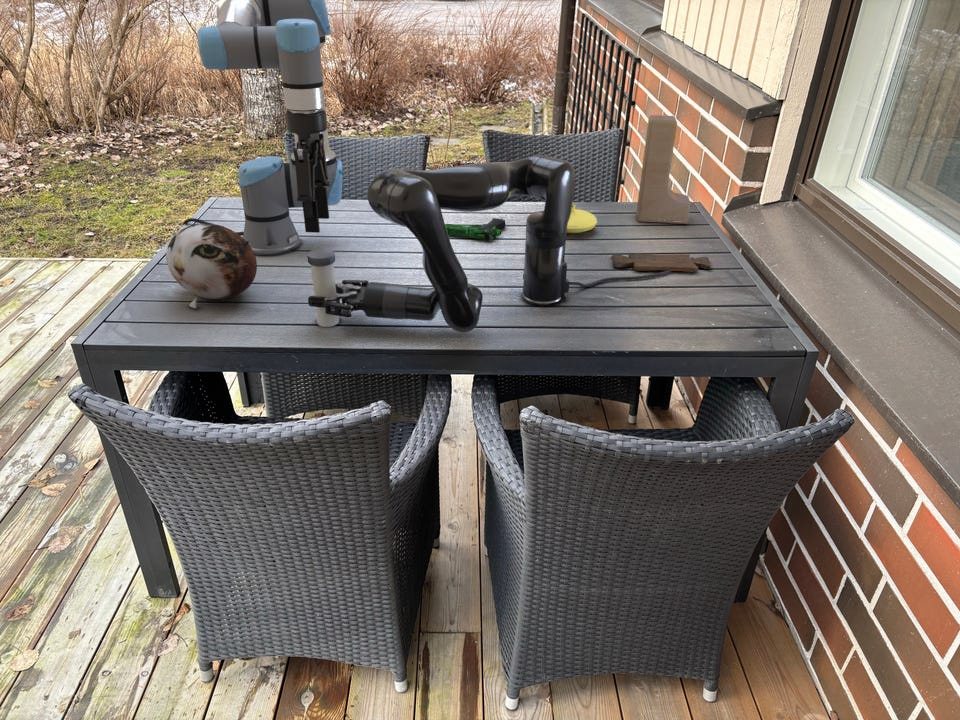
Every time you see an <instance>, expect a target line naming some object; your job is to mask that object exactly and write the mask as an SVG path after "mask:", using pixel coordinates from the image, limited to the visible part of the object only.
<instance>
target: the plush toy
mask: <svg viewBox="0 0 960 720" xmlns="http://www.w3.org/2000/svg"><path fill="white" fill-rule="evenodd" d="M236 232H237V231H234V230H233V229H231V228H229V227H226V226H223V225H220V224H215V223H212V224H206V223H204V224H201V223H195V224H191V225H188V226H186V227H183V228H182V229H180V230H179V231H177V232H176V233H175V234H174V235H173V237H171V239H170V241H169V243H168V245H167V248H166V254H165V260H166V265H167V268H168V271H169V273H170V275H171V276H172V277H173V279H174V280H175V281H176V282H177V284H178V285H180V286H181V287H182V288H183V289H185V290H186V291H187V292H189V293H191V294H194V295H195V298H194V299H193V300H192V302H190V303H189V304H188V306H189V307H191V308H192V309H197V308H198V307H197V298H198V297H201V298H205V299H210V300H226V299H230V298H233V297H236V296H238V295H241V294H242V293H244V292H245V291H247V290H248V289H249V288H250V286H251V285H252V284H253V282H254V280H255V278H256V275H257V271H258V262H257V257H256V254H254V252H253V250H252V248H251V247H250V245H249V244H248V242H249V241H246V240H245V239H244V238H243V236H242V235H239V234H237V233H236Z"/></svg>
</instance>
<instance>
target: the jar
mask: <svg viewBox="0 0 960 720" xmlns="http://www.w3.org/2000/svg"><path fill="white" fill-rule="evenodd" d="M310 271H311V272H310V273H311V279H312V290H313V296H318V297H326V298H327V297H335V296H336V295H337V294H336V285H335V284H336V277H335V265H334V263H333V264H331V265H328V266H312V265H310ZM331 302H335V303H336V301H331ZM334 311H335V309H334ZM315 314H316V323H317V325H318V326H320V327H322V328H331V327H334V326H336V325H338V324H339V323H340V318H339V317H340V316H336V315H330V314H326V313H325V308H322V307H315Z"/></svg>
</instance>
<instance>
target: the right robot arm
mask: <svg viewBox="0 0 960 720" xmlns="http://www.w3.org/2000/svg"><path fill="white" fill-rule="evenodd" d="M575 187H576V171H575V168H574V166H573V164H572V163H571V162H570V161H567V160H564V159H559V158H556V157H553V156H552V157H551V156H547V155H541V154H540V155H539V154H537V155H531V156H528V157H527V156H526V157H524V158H521V159H517V160H512V161H492V162H489V161H488V162H477V163H468V164H463V165H455V166H448V167H441V168H435V169H403V168H391V169H387V170H384V171H382V172H381V173H379V174H378V175H376V177H375V178H374V179H373V180H372V181H371V183H370V184H369V187H368V190H367V201H368V204H369V207H370V209H372V211H373V212H374V213H375V214H377V215H378V216H379V217H380V218H382V219H383V220H386V221H388V222H390V223H393V224H395V225H398V226H400V227H403V228H407V230H409V231H410V233H411V234H412V235H413V236H414V237H415V239H416V240H417V241H418V242H419V245H420V246H421V249H422V257H421V258H422V260H421V263H422V269H423V270H424V273H425V275H426V277H427V279H428V281H429V283H430V284H431V286H432V287H421V286H409V285H406V284H399V283H387V282H377V281H369V280H367V279H365V280H363V279H342V280H341V282H337V283H335V285H336V296H335V297H327V298H326V297H318V296H314V295H309V296H308V297H307V302H308V303H307V304H308V306H309V307H312V308H313V307H314V308H316V307H322V308H325V313H326V314H330V315H336V316H339V317H342V318H352V316H353V315H352V312H356V311H363V312H364V315H365V316H366V317H368V318H378V319H387V320H388V319H389V320H414V321H423V322H425V321H426V322H428V321H429V322H430V321H432V320H434V319H435V318H436V316H437V315H438V313H439V311H441V315H442V317H443V319H444V321H445V323H446V324H447V326H448V327H449V328H450V329H452V330H453V331H455V332H458V333H464V334H465V333H466V334H467V333H470V332H472V331H473V330H474V329H475V328H477V326H478V323H479V320H480V315H481V310H482V305H483V299H484V298H483V297H484V296H483V292H482V291H481V289H480V288H479V287H478V286H476V285H474V284H472V283H469V281H468V277H467V274H466V272H465V271H464V269H463V266H462V264H461V263H460V261H459V259H458V257H457V255H456V253H455V251H454V248H453V246H452V243H451V240H450V235H448V233H447V229H446V226H445V224H446V223H445V220H444V216H443V213H442V210H444V211H452V212H453V211H454V212H463V213H473V212H483V211H488V210H494V209H496V208H498V207H501V206H502V205H504V204H505V203H506V202H507V201H508V199H509V198H510V197H512V196H527V197H531V198H535V199H538V200H542V201H544V209H543V210H539V211H534V212H532V213H530V214H529V215H528V216H527V218H526V223H525V240H524V241H525V245H524V262H523V274H522V280H523V283H522V284H523V286H522V296H521V297H522V299H523V301H525V302H526V303H528V304H530V305H533V306H537V307H539V306H540V307H550V306H553V305H556V304H559V303H560V302H565V297H566V294H567V293H568V294H569V292H570V286H580V287H582V288H590V287H593V286H596V285H598V284H600V283H604V282H609V281H628V280H630V281H631V280H642V279H649V278H656V277H660V276H662V275H667V274H669V273H672V271H670V270H667V271H664V270H663V271H660V272H656V273H651V274H645V275H636V276H635V275H634V276H612V277H605V278H602V279H598V280H596V281H594V282H591V283H586V284H585V283H584V284H583V283H582V282H580V281H579V282H578V281H569V279H568V278H567V276H568V275H567V274H568V273H567V272H568V262H566V261H565V257H566V245H567V234H568V233H567V224H568V221H569V219H570V215H571V209H572V205H573V201H574V193H575ZM693 258H694V257H690V259H693ZM331 301H336V303H335V302H331ZM334 309H335V311H334Z"/></svg>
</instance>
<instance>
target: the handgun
mask: <svg viewBox="0 0 960 720" xmlns="http://www.w3.org/2000/svg"><path fill="white" fill-rule="evenodd" d="M445 226H446V229H447V233H448V236H454V237H462V238H469V239H470V238H471V239H474V240H479V241H484V242H491V241H492V240H494V239H495V238H497V237H500V236H502V230H504V229H505V228H506V220H505V219H503V218H497V217H492V219H491V220H490V221H489V222H488V223H483V224H482V225H479V224H472V225H459V224H453V223H445Z"/></svg>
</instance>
